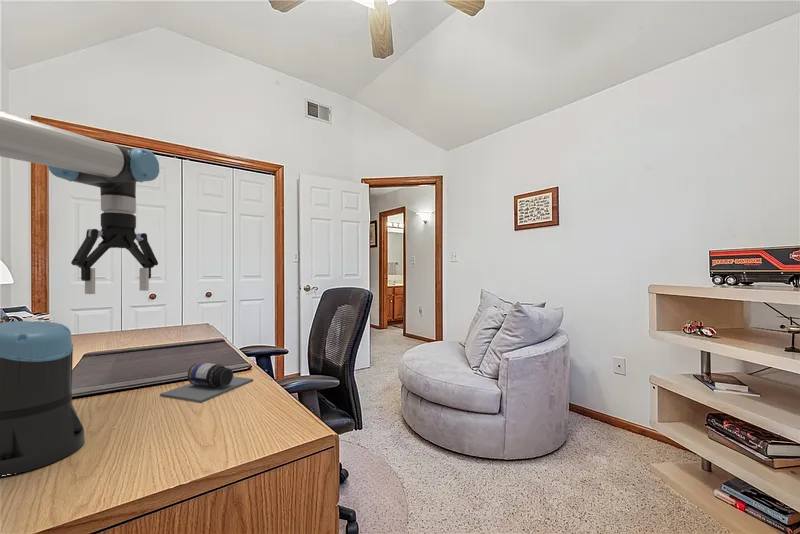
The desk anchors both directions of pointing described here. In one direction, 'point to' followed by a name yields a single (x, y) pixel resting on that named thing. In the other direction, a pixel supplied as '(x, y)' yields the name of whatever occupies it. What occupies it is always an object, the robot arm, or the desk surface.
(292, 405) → the desk surface
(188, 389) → the desk mat
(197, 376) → the pill bottle
